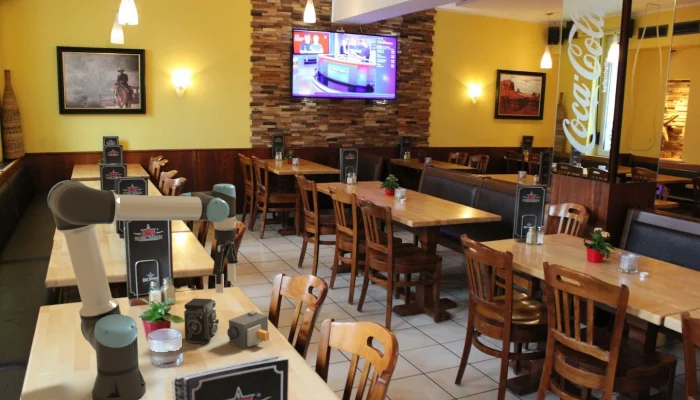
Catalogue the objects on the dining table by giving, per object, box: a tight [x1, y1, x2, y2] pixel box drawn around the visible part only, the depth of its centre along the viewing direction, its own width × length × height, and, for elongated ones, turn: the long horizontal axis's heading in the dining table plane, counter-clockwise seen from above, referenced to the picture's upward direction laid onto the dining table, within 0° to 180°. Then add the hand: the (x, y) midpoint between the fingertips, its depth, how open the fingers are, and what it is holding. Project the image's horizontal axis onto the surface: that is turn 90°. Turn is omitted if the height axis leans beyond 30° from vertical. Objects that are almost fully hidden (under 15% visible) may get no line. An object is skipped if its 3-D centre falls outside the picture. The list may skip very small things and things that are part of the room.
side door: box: [247, 324, 270, 348], centre depth 215 cm, size 6×5×6 cm
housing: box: [226, 310, 269, 350], centre depth 220 cm, size 14×8×10 cm, turn 144°
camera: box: [183, 297, 220, 345], centre depth 221 cm, size 10×10×15 cm
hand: (225, 286), depth 211 cm, fingers open, 13 cm apart
